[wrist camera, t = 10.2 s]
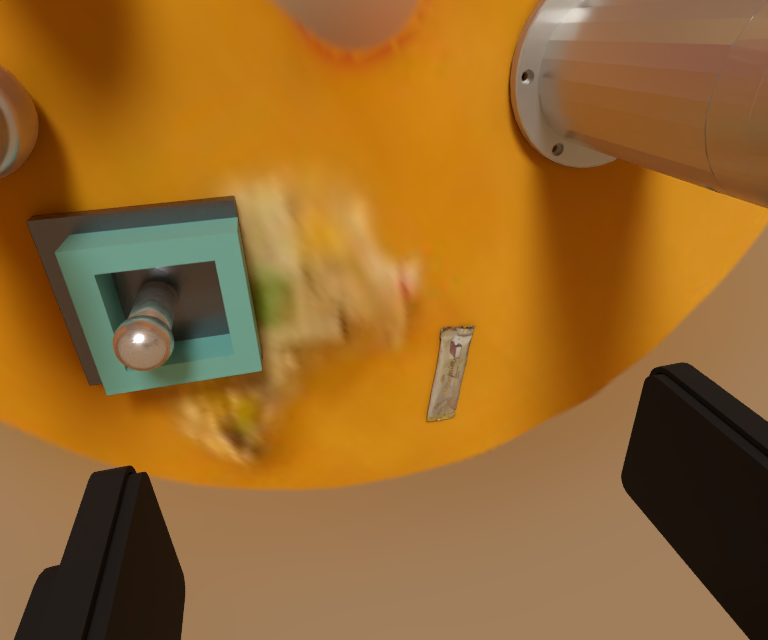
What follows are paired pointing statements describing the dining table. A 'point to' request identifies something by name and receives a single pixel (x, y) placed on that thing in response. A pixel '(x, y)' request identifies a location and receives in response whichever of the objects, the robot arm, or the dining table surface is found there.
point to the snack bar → (449, 372)
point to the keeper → (142, 283)
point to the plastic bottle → (15, 123)
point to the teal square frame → (150, 250)
